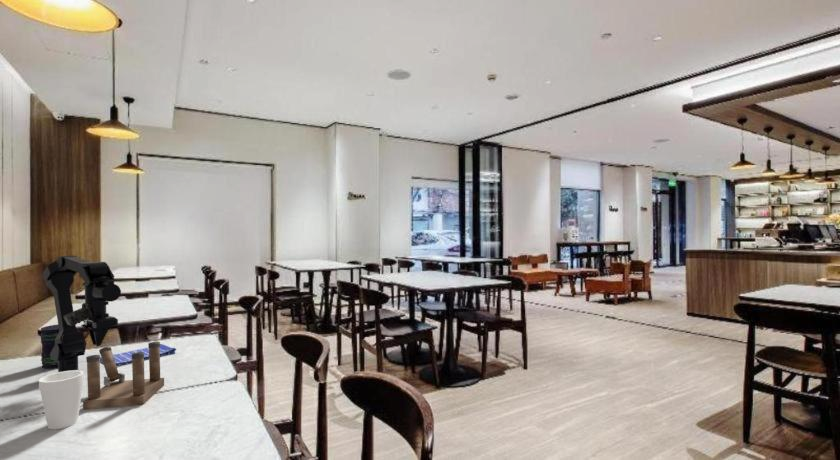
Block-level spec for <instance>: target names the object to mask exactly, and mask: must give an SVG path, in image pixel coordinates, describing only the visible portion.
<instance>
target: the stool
mask: <svg viewBox="0 0 840 460" xmlns="http://www.w3.org/2000/svg"><path fill="white" fill-rule="evenodd" d="M160 344H161V342H160V341H152V342H149V343H148V344H147V345H148V346H147V347H149V360H148V361H149V363H148V364H149V365H148V366H149V367H148V368H149V370H148V371H149V378H145V361H144V352H136V353H133V354H132V363H131V367H132V369H131V370H132V371H131V372H132V379H128V380H126V379H125V378H126V377H125V373H122V372H118V373H119V376H120V378H119V379H118V380H115V381H112V382H110V378H108V377H107V376H103V385H104V386H103V387H101V366H100V365H101V362H100V357H101V355H100V354H93V355H88V356H86V374H87V397H86V398H85V399H84V400H83V401H82V409H83V410H93V409H96V410H97V409H105V408H117V407H127V406H128V407H129V406H140V405H141V406H142V405H145V404H146V403H147V402H148V401H149V400H150V399H151V398H153V396H155V394H156V393H157V392H159V391H160V390H161V389H162V388H163V387H164V386H165V377H161V359H160V358H161V357H160Z"/></svg>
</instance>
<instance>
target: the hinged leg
mask: <svg viewBox="0 0 840 460" xmlns="http://www.w3.org/2000/svg"><path fill="white" fill-rule="evenodd" d="M98 352H99V355H100V357H102V361H103V363H102V364H103V367H104V369H105V373H106V377H108V378H110V382H113V381H118V380H119V378H120V376H119V373H120V372H119V370H118V366H117V367H116V364H115V360H114V357H113V355H114V354H113V350H112V347H111V346H104V347H102V348H100V349H99V351H98Z"/></svg>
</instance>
